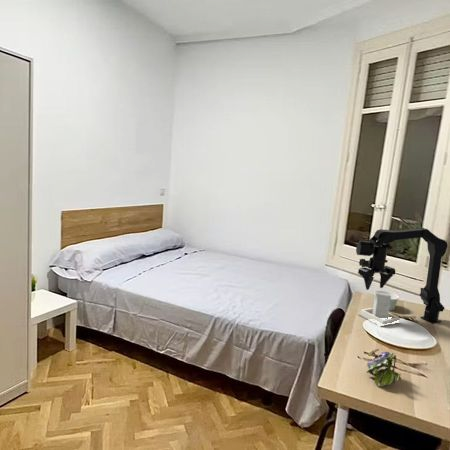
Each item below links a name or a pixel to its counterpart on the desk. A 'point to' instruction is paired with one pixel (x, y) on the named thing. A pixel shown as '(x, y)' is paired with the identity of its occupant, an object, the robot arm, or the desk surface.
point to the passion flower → (380, 362)
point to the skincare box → (381, 305)
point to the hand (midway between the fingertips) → (374, 288)
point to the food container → (393, 298)
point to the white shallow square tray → (368, 315)
